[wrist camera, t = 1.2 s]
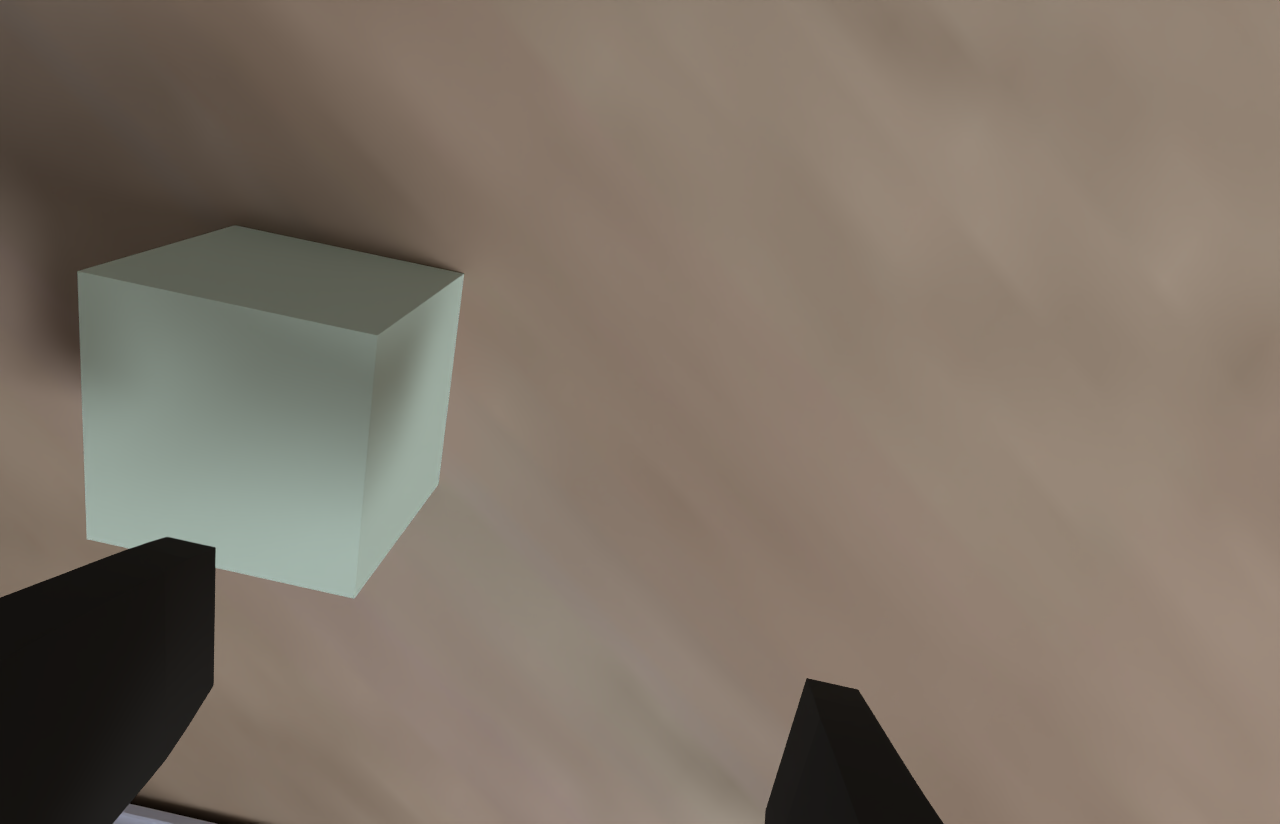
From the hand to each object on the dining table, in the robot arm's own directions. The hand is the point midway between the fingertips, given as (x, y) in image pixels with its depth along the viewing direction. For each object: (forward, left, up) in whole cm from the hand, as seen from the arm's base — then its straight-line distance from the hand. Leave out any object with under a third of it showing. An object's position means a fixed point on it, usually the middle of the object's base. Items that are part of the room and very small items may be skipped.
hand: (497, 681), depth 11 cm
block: (0, +6, -10) cm, 11 cm away
